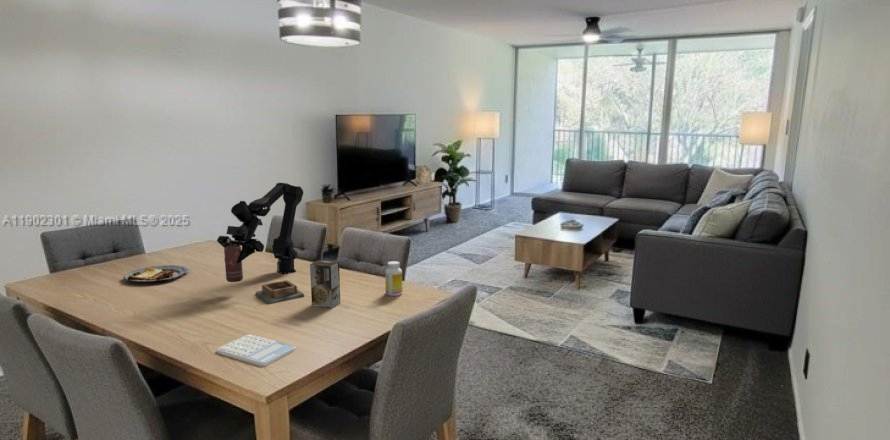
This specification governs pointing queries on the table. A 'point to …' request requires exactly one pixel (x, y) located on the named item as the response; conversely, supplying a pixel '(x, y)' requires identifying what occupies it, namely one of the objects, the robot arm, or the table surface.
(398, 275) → the supplement bottle
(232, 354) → the calculator
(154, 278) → the food plate
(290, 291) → the collar
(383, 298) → the table surface
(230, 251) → the can
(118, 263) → the table surface
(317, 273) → the coffee box
